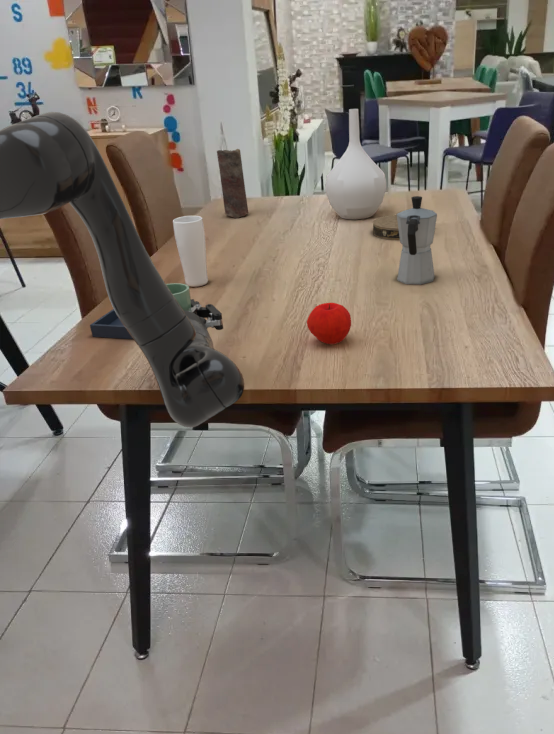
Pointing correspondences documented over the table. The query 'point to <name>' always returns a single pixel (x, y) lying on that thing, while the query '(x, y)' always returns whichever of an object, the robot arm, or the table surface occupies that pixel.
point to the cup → (181, 294)
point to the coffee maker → (416, 243)
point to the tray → (109, 327)
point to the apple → (329, 323)
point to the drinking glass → (191, 249)
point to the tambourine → (386, 227)
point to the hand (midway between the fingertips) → (172, 307)
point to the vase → (355, 179)
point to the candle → (232, 183)
